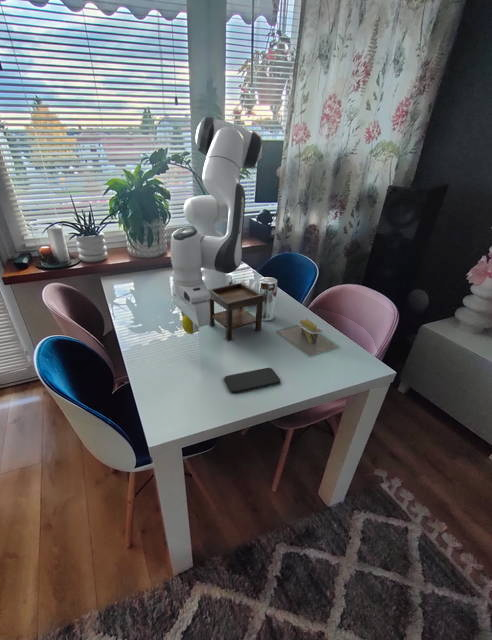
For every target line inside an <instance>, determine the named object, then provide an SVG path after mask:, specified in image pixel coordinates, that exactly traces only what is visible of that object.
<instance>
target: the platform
mask: <svg viewBox="0 0 492 640" xmlns="http://www.w3.org/2000/svg"><path fill="white" fill-rule="evenodd" d="M297 325H298V326H294V327H290V328H287V329H283V330H279V331H277V333H278V334H280V335H281V336H282V337H284V339H286V340H287V341H289V342H290V343H291V344H293V345H294V346H295V347H296V348H298V349H300V350H301V352H304V353H305V354H306V355H308V356H309V357H311V356H315V355H317V354H320V353H324V352H327V351H330V350H333V349H336V348H338V346H337V345H336V344H334V343H332V342H331V341H330V340H328V339H326V338H325V337H323V336H322V335H321V334H323V329H320V328H318V325H317V324H316V323H314V322H312V321H311V320H309V319H308V318H305V319H300V320H299V322H298V324H297Z"/></svg>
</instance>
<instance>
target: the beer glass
mask: <svg viewBox="0 0 492 640" xmlns="http://www.w3.org/2000/svg"><path fill="white" fill-rule="evenodd" d="M258 284H259V288H258V292H259V293H261V294H263V309H262V321H265V322H269V321H272V320H273V319H274V307H275V303H276V300H277V295H278V279H276V278H274V277H269V276H268V277H267V276H265V277H261V278H260V279H259V280H258Z"/></svg>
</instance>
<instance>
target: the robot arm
mask: <svg viewBox="0 0 492 640" xmlns="http://www.w3.org/2000/svg"><path fill="white" fill-rule="evenodd" d="M195 146H196V148H197V150H198V152H199V153H201V154H202V155H204V156H206V157H205V161H204V165H203V168H202V169H203V170H202V177H201V179H202V185H203V186H204V189H205V190H206V191H207V193H208V194H204V195H203V194H202V195H195V196H192V197H190V198H187V199H186V200H185V201H184V205H183V215H184V217H185V220H186V221H187V222H188V223H189V224H190V225H191V226H193V227H190V226H186V227H180V228H178V229H176V230H174V231H173V232H172V234H171V237H170V263H171V266H172V269H173V270H172V271H173V272H172V283H173V284H172V287H171V298H172V303H173V305H174V306H175V307H176V308H177V309H179V311H180V314H181V317H182V318H183V316H184V315H186V316H187V317H188V318H189V319H191V320H192V321H193V326H192V331H193V332H195V333H199V332H200V328H202V327H206V326H208V325H209V322H210V304H209V301H208V300H209V299H210V298H211V295H210V292H209V291H208V290H209V289H214V288H218V287H223V286H227V285H230V284H231V283H232V278H230V277H231V276H232V275H233V272H234V271H236V270H237V269H239V267H240V266H241V264H242V259H243V233H244V224H245V223H244V222H245V211H246V192H245V188H244V186H243V185H242V184H241V183H240V175H241V172H242V169H252V168H254V167H255V166H256V165H257V163H258V162H259V160H260V158H261V156H262V154H263V153H262V152H263V139H262V136H261V135H260V134H259V133H258V132H256V131H255V130H250V129H248V128H246V127H244V126H243V125H240V124H237V123H232V122H230V121H226V120H223V119H222V120H221V119H216V118H215V117H213V116H205V117H204V118H202V119H201V121H200V122H199V124H198V125H197V127H196V132H195ZM219 223H227V226H226V234H223V233H222V232H221V231H218V230H216V228H215V224H219Z"/></svg>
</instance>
